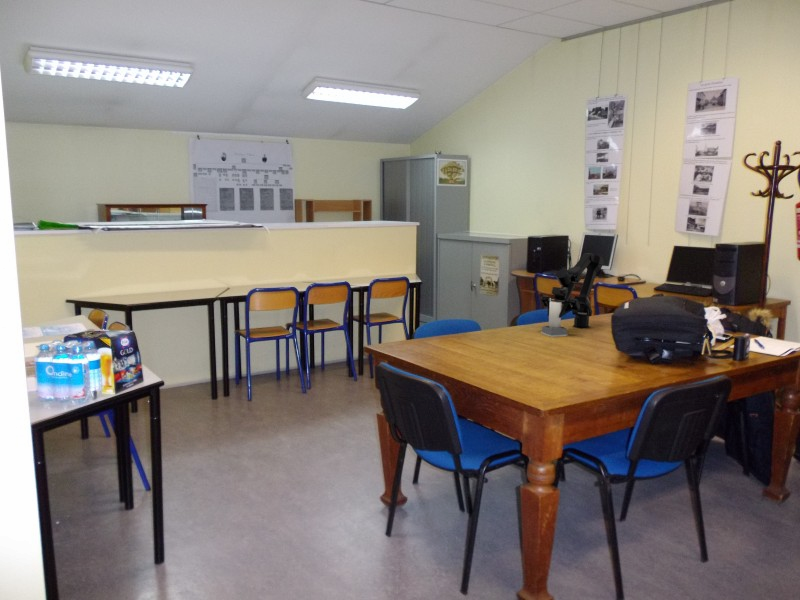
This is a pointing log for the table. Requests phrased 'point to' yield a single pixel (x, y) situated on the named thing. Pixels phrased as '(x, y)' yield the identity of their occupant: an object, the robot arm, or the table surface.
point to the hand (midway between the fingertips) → (553, 316)
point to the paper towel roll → (554, 314)
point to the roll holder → (554, 331)
